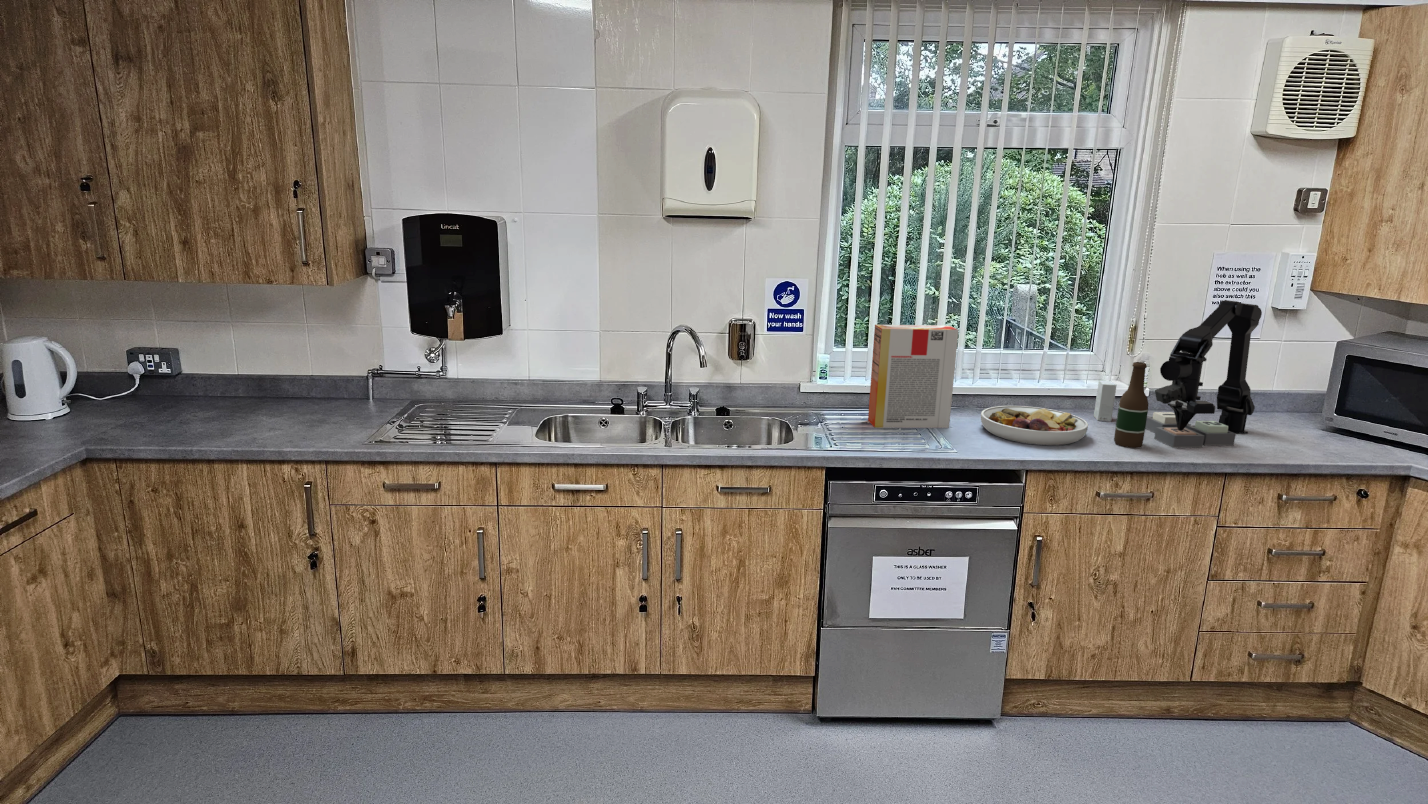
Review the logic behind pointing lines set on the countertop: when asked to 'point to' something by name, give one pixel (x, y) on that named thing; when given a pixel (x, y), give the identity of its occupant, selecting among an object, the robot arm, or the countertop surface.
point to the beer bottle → (1132, 411)
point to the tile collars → (1188, 436)
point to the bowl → (1033, 425)
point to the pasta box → (912, 376)
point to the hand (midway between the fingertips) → (1180, 429)
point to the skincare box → (1105, 400)
